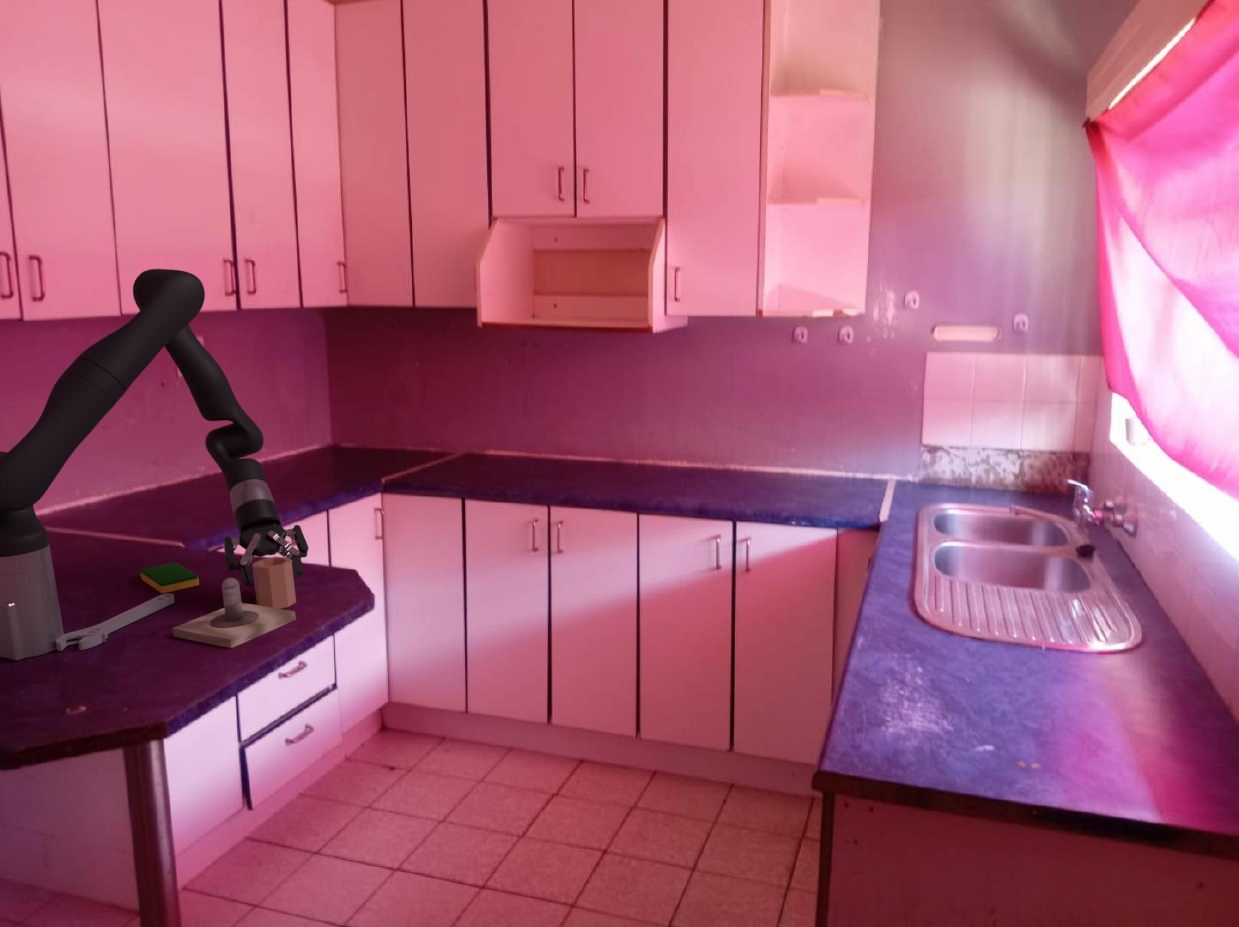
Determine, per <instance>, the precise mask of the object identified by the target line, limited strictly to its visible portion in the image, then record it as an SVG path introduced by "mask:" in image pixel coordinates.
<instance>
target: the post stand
mask: <svg viewBox="0 0 1239 927" xmlns="http://www.w3.org/2000/svg"><path fill="white" fill-rule="evenodd" d="M221 592H222V599H223V600H222V601H223V606H224V607H223V608H220V609H218V610H215V611H212V612H210V613H208V614H205V615H202V616H200V617H198V618H195V619H191V620H189V621H187V622H184V623H182V624H180V625H177V626H174V627H172V634H173V635H172V636H173V637H174V638H180V639H184V640H188V641H189V640H190V641H193V642H194V641H195V642H199V643H205V644H209V645H214V646H218V647H225V648H229V649H233V648H235V647H237V646H239V645H242V644H245V643H247V642H248V641H251V640H253V639H256V638H259V637H260V636H263V635H265V634H267V633H269V632H272V631H274V630H276V629H278V628H280V627H282V626H285V625H287V624H289V623H292V622H294V621H296V619H297V616H296V611H295V610H288V609H287V610H286V609H284V608H281V609H277V608H271V607H265V606H259V605H257V604H251V603H246V602H242V596H241V588H240V582H239V581H238V580H237V579H236V578H234V577H227V578H226V579H224V580H223V581H222V583H221Z"/></svg>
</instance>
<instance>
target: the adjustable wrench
mask: <svg viewBox="0 0 1239 927" xmlns="http://www.w3.org/2000/svg"><path fill="white" fill-rule="evenodd" d="M174 603H175V595H174V594H173V593H161V594H160V595H158V596H155V597H153V598H151V599H149V600H147V601H145V602H143V603H140V604H139V605H137V606H135V607H132V608H130V609H128V610H125V611H124V612H122V613H120V614H118V615H116V616H114V617H113V616H112V617H111V618H109V619H107V620H105V621H102V622H101V623H98V624H95V625H92V626H89V627H86V628H82V629H78V630H75V631H71V632H67V633H64V635H62V636H61V637H60V638H59V639H57V640H56V648H57V649H56V650H57V651H58V652H62V651H63V650H64V649H65V648H66V647H67V646H71V645H77V644H78V650H79V651H83V650H84V651H85V650H88V649H91V648H93V647H96V646H99V644H102V643H104V642H105V643H106V642H107V640H106V639H108V638H109V637H108V635H109V634H111V633H112V632H115V631H117V630H119V629H121V628H123V627H125V626H128V625H130V624H131V623H134V622H136V621H138V620H140V619H143V618H145V617H147V616H149V615H152V614H153V613H155V612H158V611H159V610H161V609H164V608H166V607H167V606H168V607H169V606H170V605H172V604H174Z"/></svg>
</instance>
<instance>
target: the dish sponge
mask: <svg viewBox="0 0 1239 927" xmlns="http://www.w3.org/2000/svg"><path fill="white" fill-rule="evenodd" d="M139 571H140V578H141V580H142V581H143V582H145V583H146V584H148V585H149V586H150V587H152V588H153V589H155V590H156V591H158V592H160V594H168V593H170V592H174V591H179V590H184V589H187V588H192V587H195V586H199V585H200V580H199V575H198V574H196V573H194V572H193V571H191V570H189V569H187V568H186V567H184V566H183V565H181V564H180V563H178V562H174V561H173V562H169V563H165V564H160V565H157V566H151V567H146V568H142V569H140V570H139Z"/></svg>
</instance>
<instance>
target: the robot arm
mask: <svg viewBox="0 0 1239 927" xmlns="http://www.w3.org/2000/svg"><path fill="white" fill-rule="evenodd" d="M132 295H133V296H132V297H133V300H134V303H135V304H136V305H135V306H136V307H137V308H138V310H139V311H138V312H137V313H136V314H135V315H134V316H133V317H132V319H130V320H129V321H128V322H127V323H126V324H124V325H123V326H121V327H119V328H117V329H116V330H114V331H113V332H111V333H109V334H107V335H106V336H104V337H103V338H101V339H99V340H98V341H96V342H95V343H93V344H92V345H90V346H89V347H88V348H85V350H84V351H82V352H81V353H80V354H79V355H78V356H77V357H76V358H75V359H74V360H73V362H71V363H70V365H69V366H68V367H67V368H66V369H65V370H64V372H63V373H62V374H60V377H59V378H58V379H57V381H56V382H55V384H54V385H53V387H52V389H51V392H50V394H49V396H48V398H47V400H46V403H45V405H44V408H43V410H42V413H41V415H40V417H39V418H38V420H37V422H36V423H35V424H34V426H33V427H32V428H31V429H30V430H29V431H28V432H27V433H26V434H25V436H24V437H23V438H21V440H20V441H19V442H18V443H17V444H15V445H14V446H13V447H12V448H11V449H10V450H8V451H1V450H0V657H1V658H5V659H9V660H12V661H19V660H22V659H25V658H26V659H27V658H32V657H38V656H41V655H45V654H48V653H51V652H53V651H55V650H57V648H56V640H57V639H59V638H60V637H61V636H62V635H64V634H65V633H64V627H63V620H62V615H61V609H60V602H59V596H58V591H57V589H58V588H57V583H56V578H55V572H54V566H53V565H54V564H53V560H52V554H51V553H52V552H51V547H50V541H49V535H48V532H47V529H46V527H45V526H44V525H43V523H41V521H40V519H39V518H38V517H37V514H36V512H35V507H34V505H35V504H37V502H39V501H40V500H41V498H43V496H44V495H45V493H46V492H47V491H48V490H49V488H50V486H52V484H53V482H54V481H55V479H56V478H57V476H58V474H59V473H60V472H61V470H62V469H63V467H64V466H65V464H66V463H67V461H68V460H69V459H70V457H71V456H72V454H73V453H74V452H75V450H76V449H77V448H78V447H79V446H80V445H81V443H82V442H83V441H84V440H85V439H86V438H87V437H88V436H89V435H90V434H91V433H92V432H93V430H94V429H96V427H97V426H98V424H99V423H100V422H101V421H102V420H103V418H105V416H106V415H107V414H108V413H109V412H110V411H112V409H113V408H114V406H115V405H117V403H118V401H120V400H121V398H122V397H123V396H124V395H125V394H126V392H128V390H129V388H130V387H131V386H132V385H133V383H134V382H135V381H136V380H137V379H138V377H140V376H141V374H142V373H143V372H144V370H145V369H146V368H148V366H149V364H150V363H152V362H153V360H154V359H155V357H156V356H157V355H158V354H159V353H160V352H161V351H162V349H166V351H167V352H168V354H169V355H170V358H172V360H173V362H174V364H175V365H176V367H177V369H178V370H179V372H180V374H181V376H182V378H183V379H184V381H185V383H186V386H187V387H188V389H189V391H190V394H191V396H192V398H193V400H194V402H195V405H196V406H197V408H198V411H199V413H200V415H201V416H202V418H203V419H204V420H205V421H207V422H221V421H222V422H223V421H228V422H231V423H230V424H226V425H222V426H220V427H217V428H214V429H212V430H210V431H209V432H208V433H206V434H207V435H206V437H205V440H204V442H205V448H206V450H207V453H208V454H209V455H210V457H211V458H212V460H214V462H215V464H217V466H218V467H219V469H220V470H221V473H222V474H223V476H224V480H225V482H226V485H227V489H228V494H229V497H230V505H231V512H232V514H233V516H234V519H235V520H234V521H235V522H236V527H237V530H238V534H239V537H237V538H236V537H235V538H232V537H231V536H225V537H224V540H223V548H224V555H225V559H226V565H227V569H228V571H229V572H233V571H238V572H239V573H240V575H241V580H242V583H243V585H244V587H246V586H247V587H248V589H251V588H254V577H253V575H252V571H251V568H250V564H251V563H252V561H253V559H254V558H255V557H257V558H263V557H265V556H274V555H276V554H279V555H280V556H281V557H288V558H289V559H290V560H291V561H292V569H293V574H294V575H295V579H297V580H298V579H301V578H302V576H303V574H304V569H305V568H304V565H303V561H302V558H307V556H308V551H309V546H308V542H307V540H306V538H305V535H304V533H303V531H302V530H303V529H302V528H301V525H298V524H295V525H294V526H293V528H288V529H285V528H284V527H283V526H282V524H281V520H280V516H279V514H278V511H277V510H278V509H277V507H276V504H275V500H274V497H273V494H272V492H271V489H270V488H269V486H268V482H267V480H266V476H265V473H264V470H263V467H262V466H263V465H261V462H260V461H258V460H256V459H255V458H250V457H249V456H251V455H254V454H257V453H259V452H260V451H261V450H262V449H263V446H264V440H265V439H264V435H263V433H262V431H261V429H260V427H259V426H258V425H257V423H256V422H255V421H254V420H253V419H252V418H251V417H250V416H249V415H248V413H247V412H246V411H245V409H243V408H242V406H241V404H240V403H239V402H238V399H237V398H236V396H235V393H234V390H233V389H232V387H231V385H230V382H229V380H228V378H227V376H226V374H225V372H224V370H223V369H222V368H221V366H220V364H219V363H218V362H217V361H216V359H214V357H213V356H212V354H210V352H209V351H208V350H207V349H206V348H205V346H204V345H203V344H202V342H200V340H199V339H198V337H197V336H196V335H195V333H194V332H193V330H192V328H191V327H190V325H189V324H190V323H191V322H192V321H193V320H194V319H195V318H196V317H197V316H198V314H199V313H200V312H201V310H202V308H203V305H204V304H205V303H204V302H205V298H206V292H205V287H204V285H203V283H202V281H201V279H200V278H199V277H197V275H195V274H193V273H191V272H188V271H185V270H180V269H168V268H151V269H146V270H144V271H142V272H140V273H139V275H137V276H136V278H135V280H134V283H133V285H132ZM287 537H289V539H291V541H294V542H295V544H296V548H295V547H294V546H292V544H291V543H290V542H289V541H288V540H286V538H287ZM238 546H240V547H241V548H242V549H244V550H245V551H244V554H243V556H242V557H241V559H240V560H238V559H236V555H235V551H236V550H237V548H238Z"/></svg>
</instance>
